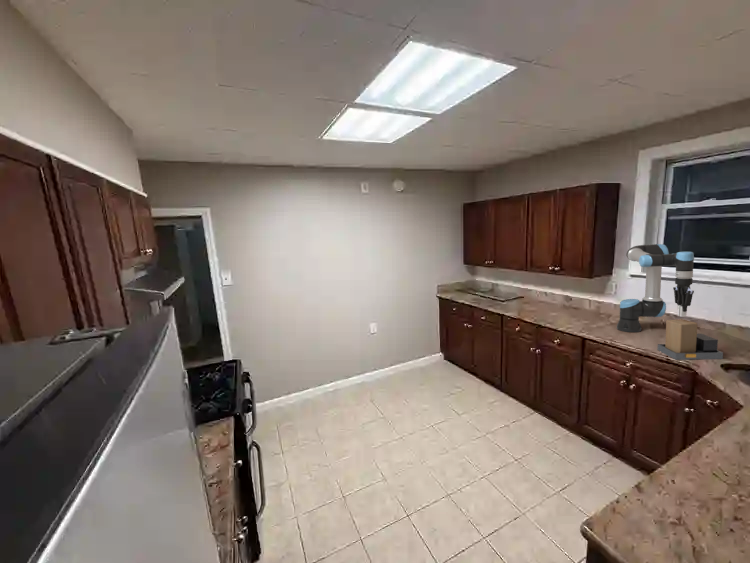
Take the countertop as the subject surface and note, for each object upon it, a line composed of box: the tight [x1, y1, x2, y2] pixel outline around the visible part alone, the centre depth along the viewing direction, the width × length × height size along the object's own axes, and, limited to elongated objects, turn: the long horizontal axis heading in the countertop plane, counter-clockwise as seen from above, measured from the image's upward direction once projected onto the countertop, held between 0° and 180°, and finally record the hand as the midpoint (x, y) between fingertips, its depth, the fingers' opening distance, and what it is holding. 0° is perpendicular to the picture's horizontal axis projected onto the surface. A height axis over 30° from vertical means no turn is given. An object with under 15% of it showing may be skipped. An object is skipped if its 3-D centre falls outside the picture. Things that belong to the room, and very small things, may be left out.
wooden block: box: [664, 318, 698, 353], centre depth 200 cm, size 10×10×20 cm
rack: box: [657, 333, 724, 361], centre depth 199 cm, size 17×24×11 cm
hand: (681, 316), depth 198 cm, fingers closed
